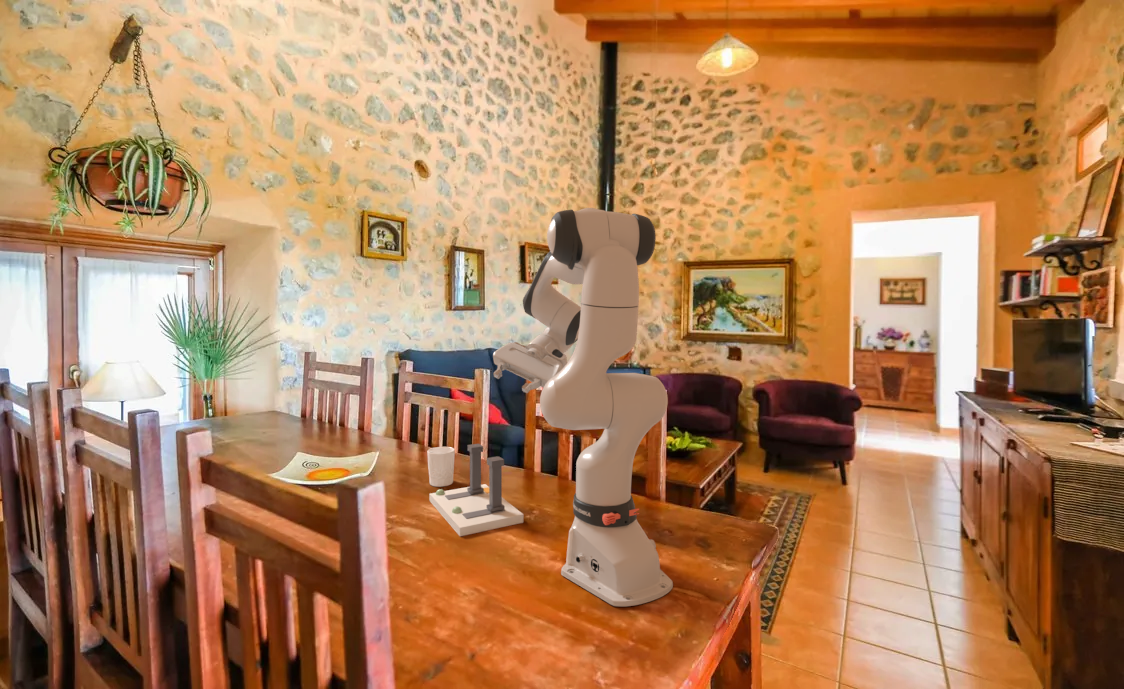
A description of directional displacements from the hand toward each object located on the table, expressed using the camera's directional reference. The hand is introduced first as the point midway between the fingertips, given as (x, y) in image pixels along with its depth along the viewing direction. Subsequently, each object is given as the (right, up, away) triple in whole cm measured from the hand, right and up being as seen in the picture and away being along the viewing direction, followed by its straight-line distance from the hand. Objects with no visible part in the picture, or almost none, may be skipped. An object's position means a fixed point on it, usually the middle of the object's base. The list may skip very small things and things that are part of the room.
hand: (509, 383), depth 133 cm
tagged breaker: (-10, -30, +6) cm, 32 cm away
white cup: (-22, -31, +20) cm, 43 cm away
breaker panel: (-9, -33, -1) cm, 34 cm away
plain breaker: (-3, -31, -6) cm, 31 cm away
